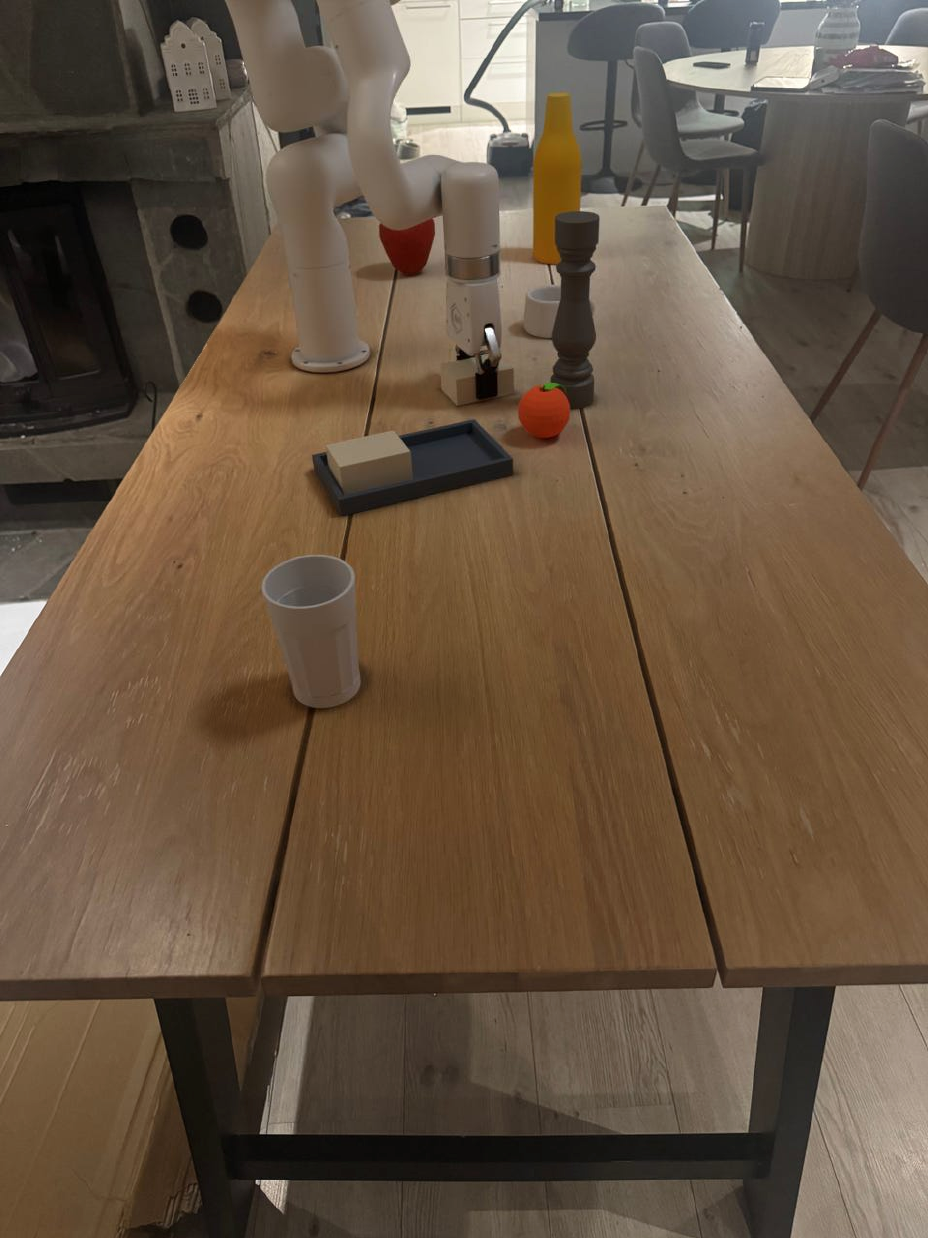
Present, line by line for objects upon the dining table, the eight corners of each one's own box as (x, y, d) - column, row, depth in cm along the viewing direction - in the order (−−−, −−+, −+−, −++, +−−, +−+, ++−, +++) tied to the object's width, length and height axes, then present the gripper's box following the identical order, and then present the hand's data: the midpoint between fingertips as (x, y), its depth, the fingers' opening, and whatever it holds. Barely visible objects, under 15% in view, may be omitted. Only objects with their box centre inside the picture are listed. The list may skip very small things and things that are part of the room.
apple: (406, 261, 189) (401, 198, 182) (448, 268, 184) (445, 204, 176) (371, 276, 182) (364, 211, 175) (414, 285, 177) (409, 218, 170)
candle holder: (591, 410, 130) (599, 223, 115) (547, 408, 132) (550, 223, 116) (595, 391, 135) (603, 210, 120) (553, 389, 136) (556, 210, 121)
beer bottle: (580, 264, 183) (586, 97, 165) (533, 265, 183) (534, 99, 165) (576, 250, 190) (581, 88, 172) (531, 251, 190) (532, 91, 172)
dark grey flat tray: (314, 470, 120) (311, 454, 119) (474, 434, 126) (474, 418, 125) (341, 516, 111) (338, 499, 109) (513, 474, 117) (513, 458, 115)
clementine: (546, 416, 130) (547, 367, 125) (585, 431, 125) (587, 381, 121) (507, 436, 125) (506, 386, 121) (546, 452, 121) (546, 401, 117)
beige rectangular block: (441, 389, 138) (439, 363, 136) (496, 378, 141) (495, 352, 138) (457, 405, 134) (455, 379, 131) (514, 393, 136) (513, 367, 134)
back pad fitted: (329, 473, 118) (325, 444, 115) (396, 458, 120) (393, 429, 118) (343, 496, 113) (339, 467, 110) (413, 479, 115) (410, 451, 113)
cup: (287, 661, 90) (265, 558, 82) (369, 654, 90) (355, 550, 83) (281, 718, 83) (257, 612, 76) (369, 710, 84) (354, 604, 76)
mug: (526, 341, 152) (526, 304, 148) (520, 320, 160) (520, 285, 156) (598, 336, 152) (600, 300, 148) (589, 316, 160) (591, 280, 156)
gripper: (424, 251, 131) (433, 372, 142) (471, 286, 118) (476, 416, 129) (473, 243, 133) (478, 363, 144) (524, 277, 120) (525, 405, 131)
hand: (477, 387), depth 137 cm, fingers closed on beige rectangular block, 6 cm apart
